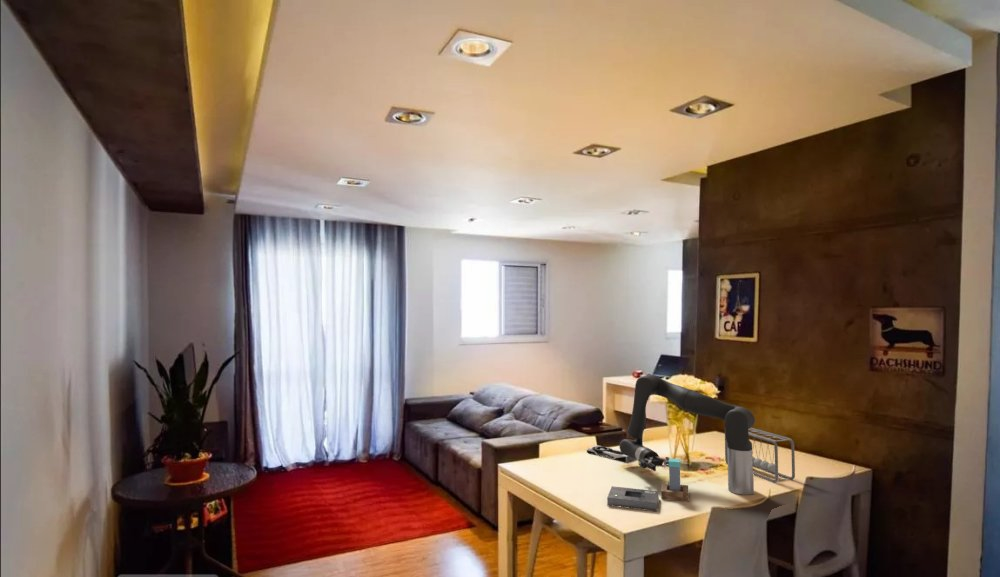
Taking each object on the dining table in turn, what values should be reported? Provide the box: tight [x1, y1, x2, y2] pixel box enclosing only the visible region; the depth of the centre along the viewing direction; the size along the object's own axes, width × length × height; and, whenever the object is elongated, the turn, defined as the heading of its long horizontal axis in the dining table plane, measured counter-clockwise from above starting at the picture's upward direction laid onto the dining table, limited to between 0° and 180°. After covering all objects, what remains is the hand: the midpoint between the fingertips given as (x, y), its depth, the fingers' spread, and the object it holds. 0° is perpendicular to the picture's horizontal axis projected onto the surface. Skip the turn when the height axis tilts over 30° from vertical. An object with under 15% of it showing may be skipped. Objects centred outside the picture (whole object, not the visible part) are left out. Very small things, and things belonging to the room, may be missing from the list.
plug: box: [668, 457, 682, 491], centre depth 212 cm, size 4×4×14 cm
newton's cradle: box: [724, 427, 796, 483], centre depth 242 cm, size 30×10×18 cm, turn 20°
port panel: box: [606, 485, 660, 512], centre depth 206 cm, size 18×13×3 cm
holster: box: [660, 482, 689, 503], centre depth 212 cm, size 10×10×3 cm
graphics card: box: [586, 445, 636, 464], centre depth 269 cm, size 10×3×25 cm
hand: (664, 467), depth 221 cm, fingers open, 8 cm apart
